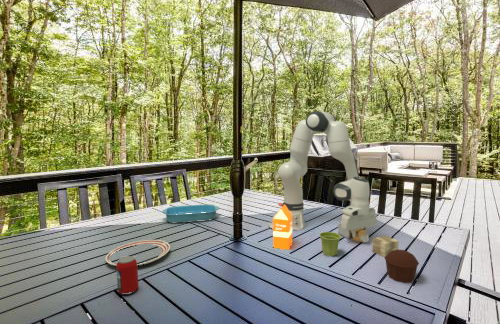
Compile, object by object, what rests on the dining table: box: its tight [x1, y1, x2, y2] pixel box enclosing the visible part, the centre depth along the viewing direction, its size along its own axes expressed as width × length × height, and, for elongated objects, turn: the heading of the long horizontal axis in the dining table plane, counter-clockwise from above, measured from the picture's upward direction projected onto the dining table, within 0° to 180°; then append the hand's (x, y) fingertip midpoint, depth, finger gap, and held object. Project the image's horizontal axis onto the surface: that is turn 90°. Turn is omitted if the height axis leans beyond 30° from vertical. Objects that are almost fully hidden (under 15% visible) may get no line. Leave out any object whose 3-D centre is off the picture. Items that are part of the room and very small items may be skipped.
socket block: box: [372, 235, 400, 258], centre depth 127 cm, size 8×7×6 cm
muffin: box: [383, 249, 420, 284], centre depth 106 cm, size 12×11×10 cm
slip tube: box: [337, 224, 370, 243], centre depth 146 cm, size 4×19×6 cm, turn 22°
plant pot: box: [319, 231, 342, 257], centre depth 128 cm, size 9×9×9 cm
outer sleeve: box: [337, 223, 353, 241], centre depth 149 cm, size 7×8×6 cm
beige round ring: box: [105, 239, 171, 267], centre depth 128 cm, size 27×27×3 cm
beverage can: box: [116, 256, 139, 294], centre depth 99 cm, size 7×7×12 cm
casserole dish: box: [161, 204, 220, 223], centre depth 185 cm, size 37×22×7 cm, turn 103°
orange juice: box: [272, 204, 293, 251], centre depth 137 cm, size 8×9×20 cm
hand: (359, 236), depth 142 cm, fingers closed on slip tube, 4 cm apart
